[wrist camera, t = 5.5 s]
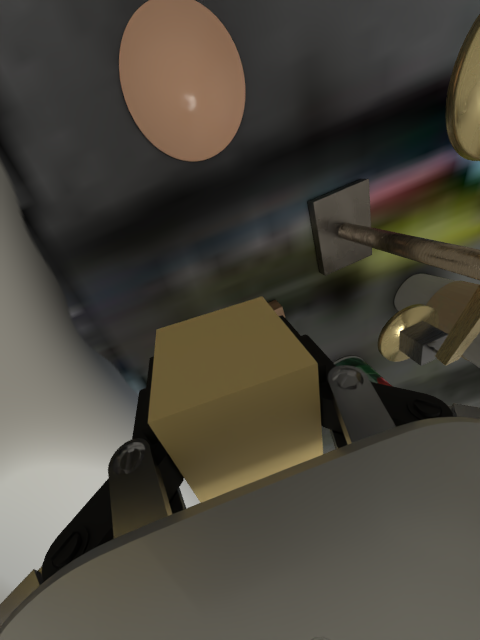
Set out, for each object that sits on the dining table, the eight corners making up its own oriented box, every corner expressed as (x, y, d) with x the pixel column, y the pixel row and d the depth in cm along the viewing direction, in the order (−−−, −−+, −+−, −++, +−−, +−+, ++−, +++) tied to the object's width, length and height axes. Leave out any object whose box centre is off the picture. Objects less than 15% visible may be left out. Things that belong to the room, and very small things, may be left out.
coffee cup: (377, 328, 36) (493, 407, 23) (390, 266, 31) (546, 322, 18) (431, 314, 37) (568, 382, 24) (452, 253, 32) (635, 296, 20)
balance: (290, 106, 20) (696, -163, 5) (354, 80, 21) (943, -260, 5) (328, 323, 33) (474, 449, 17) (367, 305, 33) (548, 413, 17)
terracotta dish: (91, 27, 16) (89, 22, 15) (218, -21, 16) (219, -27, 16) (160, 178, 21) (160, 178, 20) (257, 138, 21) (259, 137, 20)
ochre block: (156, 329, 11) (147, 423, 7) (262, 296, 11) (317, 363, 7) (191, 403, 13) (201, 504, 9) (276, 373, 14) (323, 455, 10)
